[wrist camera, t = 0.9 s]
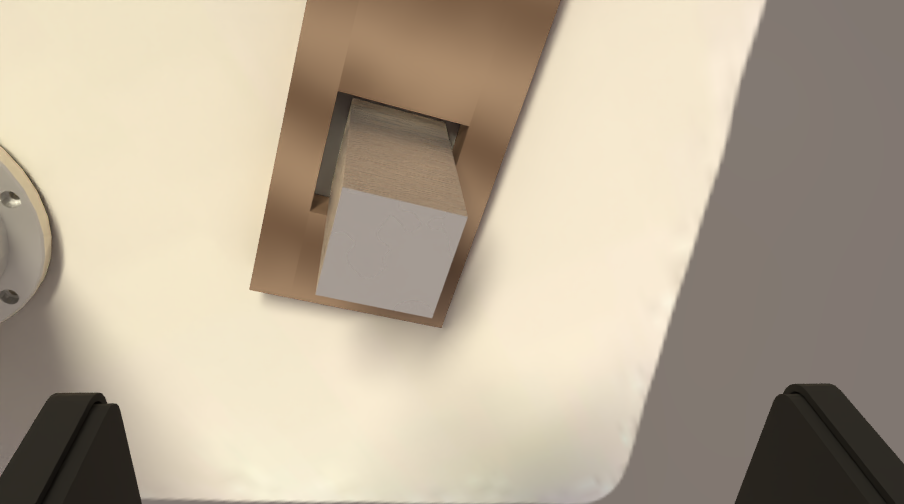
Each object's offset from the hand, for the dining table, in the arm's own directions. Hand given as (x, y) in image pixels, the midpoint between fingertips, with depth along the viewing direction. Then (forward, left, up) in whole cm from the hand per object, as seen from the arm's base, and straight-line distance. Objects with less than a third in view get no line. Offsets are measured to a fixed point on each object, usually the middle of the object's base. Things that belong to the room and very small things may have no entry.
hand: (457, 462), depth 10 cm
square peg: (-5, -1, -25) cm, 25 cm away
